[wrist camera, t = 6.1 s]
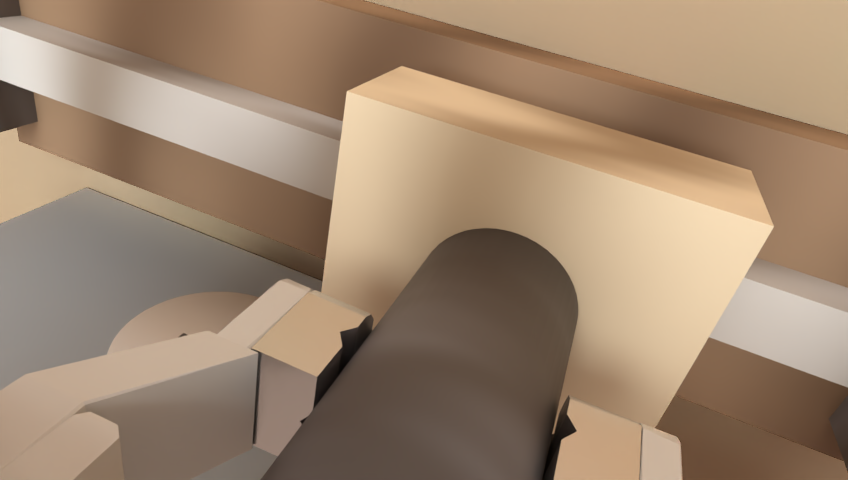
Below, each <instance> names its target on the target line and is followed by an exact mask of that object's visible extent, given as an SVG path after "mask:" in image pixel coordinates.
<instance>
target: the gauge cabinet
mask: <svg viewBox="0 0 848 480" xmlns="http://www.w3.org/2000/svg"><path fill="white" fill-rule="evenodd" d="M287 278H288V279H290V280H292V281H294V282H297V283H299V284H301V285H304V286H306V287H308V288H311V289H313V290H317V291H319V292H321V289H322V281H321V280H318V279H315V278H313V277H310V276H308V275H305V274H303V273H300V272H298V271H295V270H293V269H290V268H288V267H285V266H283V265H280V264H278V263H275V262H273V261H270V260H268V259H265V258H263V257H260V256H258V255H255V254H253V253H250V252H248V251H245V250H243V249H240V248H238V247H235V246H232V245H230V244H227V243H225V242H222V241H220V240H217V239H215V238H212V237H210V236H207V235H205V234H202V233H200V232H197V231H195V230H192V229H190V228H187V227H185V226H182V225H180V224H177V223H175V222H172V221H170V220H167V219H165V218H162V217H160V216H157V215H154V214H152V213H149V212H147V211H144V210H142V209H139V208H137V207H134V206H132V205H129V204H127V203H124V202H122V201H119V200H117V199H114V198H112V197H109V196H107V195H104V194H102V193H99V192H97V191H94V190H92V189H89V188H84V189H82V190H80V191H77V192H75V193H72V194H70V195H68V196H65V197H63V198H60V199H58V200H56V201H53V202H51V203H49V204H46V205H44V206H41V207H39V208H37V209H34V210H32V211H29V212H27V213H25V214H22V215H20V216H18V217H15V218H13V219H10V220H8V221H6V222H3V223H1V224H0V391H1V390H2V389H4V388H5V387H7V386H8V385H10V384H11V383H13V382H14V381H16V380H17V379H19V378H20V377H22V376H23V375H25V374H28V373H32V372H37V371H41V370H45V369H49V368H53V367H57V366H62V365H66V364H70V363H74V362H78V361H83V360H87V359H91V358H95V357H99V356H103V355H108V354H112V353H116V352H120V351H124V350H128V349H133V348H137V347H141V346H145V345H149V344H153V343H158V342H162V341H166V340H170V339H174V338H178V337H183V336H187V335H191V334H195V333H199V332H204V331H210V332H213V333H215V334H217V333H218V332H219V331H221V330H222V329H223V328H224V327H225V326H226V325H228V324H229V323H230V322H231V321H232V320H233V319H235V318H236V317H237V316H238V315H239V314H240V313H242V312H243V311H244V310H245V309H246V308H247V307H248V306H250V305H251V304H252V303H253V302H254V301H255V300H257V299H258V298H259V297H260V296H261V295H262V294H264V293H265V292H266V291H267V290H268V289H269V288H271V287H272V286H273V285H274V284H275V283H276V282H278V281H280V280H283V279H287ZM277 457H278V456H276V455H273V454H271V453H269V452H267V451H264V450H262V449H260V448H258V447H256V446H252V449H251V450H249V451H247V452H245V453H243V454H241V455H239V456H237V457H235V458H233V459H231V460H229V461H227V462H225V463H223V464H221V465H218V466H216V467H214V468H212V469H210V470H208V471H206V472H204V473H202V474H200V475H198V476H196V477H194V478H192V479H190V480H261V478H262V477H263V476H264V474H265V473H266V472H267V470H268V469H269V468H270V466H271V465H272V464H273V462H274V461H275V460H276V458H277Z"/></svg>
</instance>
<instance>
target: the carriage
mask: <svg viewBox="0 0 848 480" xmlns="http://www.w3.org/2000/svg"><path fill="white" fill-rule="evenodd" d="M773 228H774V225H773V223H772V220H771V218H770V215H769V213H768V210H767V208H766V206H765V203H764V201H763V198H762V196H761V193H760V191H759V188H758V186H757V183H756V181H755V178H754V176H753V174H752V171H751V170H747V169H744V168H740V167H737V166H734V165H730V164H727V163H724V162H720V161H717V160H714V159H710V158H707V157H704V156H700V155H697V154H694V153H690V152H687V151H684V150H680V149H677V148H674V147H670V146H667V145H664V144H660V143H657V142H654V141H650V140H647V139H644V138H640V137H637V136H634V135H630V134H627V133H624V132H620V131H617V130H614V129H610V128H607V127H604V126H600V125H597V124H594V123H590V122H587V121H584V120H580V119H577V118H574V117H570V116H567V115H564V114H560V113H557V112H554V111H550V110H547V109H544V108H540V107H537V106H534V105H530V104H527V103H524V102H520V101H517V100H514V99H510V98H507V97H504V96H500V95H497V94H494V93H490V92H487V91H484V90H480V89H477V88H474V87H470V86H467V85H464V84H460V83H457V82H454V81H450V80H447V79H444V78H440V77H437V76H434V75H430V74H427V73H424V72H420V71H417V70H414V69H410V68H407V67H404V66H401V67H398V68H396V69H394V70H392V71H390V72H388V73H385V74H383V75H381V76H379V77H377V78H375V79H372V80H370V81H368V82H366V83H364V84H361V85H359V86H357V87H355V88H353V89H351V90H348V91H347V93H346V101H345V109H344V117H343V125H342V133H341V140H340V148H339V156H338V164H337V172H336V180H335V187H334V195H333V203H332V211H331V219H330V226H329V234H328V242H327V250H326V258H325V266H324V273H323V281H322V289H321V293H323V294H326V295H328V296H330V297H333V298H335V299H337V300H340V301H342V302H344V303H346V304H349V305H351V306H353V307H356V308H358V309H360V310H363V311H365V312H367V313H369V314H371V315H372V317H373V319H374V321H373V327H372V332H371V333H370V334H369V336H368V337H367V338H366V340H365V341H364V342H363V344H362V345H361V346H360V348H359V349H358V350H357V352H356V353H355V354H354V356H353V357H352V358H351V360H350V361H349V362H348V364H347V365H346V366H345V368H344V369H343V370H342V372H341V373H340V374H339V376H338V377H337V378H336V380H335V381H334V382H333V384H332V385H331V386H330V388H329V389H328V390H327V392H326V393H325V394H324V396H323V397H322V398H321V400H320V401H319V402H318V404H317V405H316V406H315V408H314V409H313V410H312V412H311V413H310V414H309V416H308V417H307V418H306V420H305V421H304V422H303V424H302V425H301V426H300V428H299V429H298V430H297V432H296V433H295V434H294V436H293V437H292V438H291V440H290V441H289V442H288V444H287V445H286V446H285V448H284V449H283V450H282V452H281V453H280V454H279V456H278V457H277V458H276V460H275V461H274V462H273V464H272V465H271V466H270V468H269V469H268V470H267V472H266V473H265V474H264V476H263V477H262V478H261V480H542V478H543V473H544V469H545V464H546V460H547V455H548V451H549V446H550V442H551V437H552V434H554V432H555V428H556V424H557V420H558V415H559V413H560V410H561V408H562V406H563V404H564V402H565V400H566V399H567V397H568V395H570V396H573V397H575V398H578V399H580V400H583V401H585V402H588V403H590V404H593V405H595V406H598V407H600V408H603V409H605V410H608V411H610V412H613V413H615V414H618V415H620V416H623V417H625V418H628V419H630V420H633V421H635V422H637V423H643V424H645V425H648V426H650V427H653V428H656V426H657V424H658V423H659V421H660V419H661V417H662V416H663V414H664V412H665V411H666V409H667V407H668V406H669V404H670V402H671V400H672V399H673V397H674V395H675V394H676V392H677V390H678V389H679V387H680V385H681V384H682V382H683V380H684V378H685V377H686V375H687V373H688V372H689V370H690V368H691V367H692V365H693V363H694V361H695V360H696V358H697V356H698V355H699V353H700V351H701V350H702V348H703V346H704V345H705V343H706V341H707V339H708V338H709V336H710V334H711V333H712V331H713V329H714V328H715V326H716V324H717V322H718V321H719V319H720V317H721V316H722V314H723V312H724V311H725V309H726V307H727V306H728V304H729V302H730V300H731V299H732V297H733V295H734V294H735V292H736V290H737V289H738V287H739V285H740V283H741V282H742V280H743V278H744V277H745V275H746V273H747V272H748V270H749V268H750V267H751V265H752V263H753V261H754V260H755V258H756V256H757V255H758V253H759V251H760V250H761V248H762V246H763V244H764V243H765V241H766V239H767V238H768V236H769V234H770V233H771V231H772V229H773Z"/></svg>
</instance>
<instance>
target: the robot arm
mask: <svg viewBox="0 0 848 480" xmlns="http://www.w3.org/2000/svg"><path fill="white" fill-rule="evenodd" d="M373 321H374V319H373V317H372V315H371V314H369V313H367V312H365V311H363V310H360V309H358V308H356V307H353V306H351V305H349V304H346V303H344V302H342V301H340V300H337V299H335V298H333V297H330V296H328V295H326V294H323V293H321V292H319V291H317V290H313V289H311V288H308V287H306V286H304V285H301V284H299V283H297V282H294V281H292V280H290V279H288V278H287V279H283V280H280V281H278V282H276V283H275V284H274V285H273V286H272V287H271V288H269V289H268V290H267V291H266V292H265V293H264V294H262V295H261V296H260V297H259V298H258V299H257V300H255V301H254V302H253V303H252V304H251V305H250V306H248V307H247V308H246V309H245V310H244V311H243V312H242V313H240V314H239V315H238V316H237V317H236V318H235V319H233V320H232V321H231V322H230V323H229V324H228V325H226V326H225V327H224V328H223V329H222V330H221V331H219V332H218V333H217V334H215V333H213V332H210V331H204V332H199V333H195V334H191V335H187V336H183V337H178V338H174V339H170V340H166V341H162V342H158V343H153V344H149V345H145V346H141V347H137V348H133V349H128V350H124V351H120V352H116V353H112V354H108V355H103V356H99V357H95V358H91V359H87V360H83V361H78V362H74V363H70V364H66V365H62V366H57V367H53V368H49V369H45V370H41V371H37V372H32V373H28V374H25V375H23V376H22V377H20V378H19V379H17V380H16V381H14V382H13V383H11V384H10V385H8V386H7V387H5V388H4V389H2V390H1V391H0V480H190V479H192V478H194V477H196V476H198V475H200V474H202V473H204V472H206V471H208V470H210V469H212V468H214V467H216V466H218V465H221V464H223V463H225V462H227V461H229V460H231V459H233V458H235V457H237V456H239V455H241V454H243V453H245V452H247V451H249V450H251V449H252V446H256V447H258V448H260V449H262V450H264V451H267V452H269V453H271V454H273V455H276V456H279V454H280V453H281V452H282V450H283V449H284V448H285V446H286V445H287V444H288V442H289V441H290V440H291V438H292V437H293V436H294V434H295V433H296V432H297V430H298V429H299V428H300V426H301V425H302V424H303V422H304V421H305V420H306V418H307V417H308V416H309V414H310V413H311V412H312V410H313V409H314V408H315V406H316V405H317V404H318V402H319V401H320V400H321V398H322V397H323V396H324V394H325V393H326V392H327V390H328V389H329V388H330V386H331V385H332V384H333V382H334V381H335V380H336V378H337V377H338V376H339V374H340V373H341V372H342V370H343V369H344V368H345V366H346V365H347V364H348V362H349V361H350V360H351V358H352V357H353V356H354V354H355V353H356V352H357V350H358V349H359V348H360V346H361V345H362V344H363V342H364V341H365V340H366V338H367V337H368V336H369V334H370V333H371V332H372V327H373ZM542 480H682V457H681V443H680V441H679V439H678V437H676V436H674V435H671V434H668V433H666V432H663V431H661V430H658V429H655V428H653V427H650V426H648V425H645V424H643V423H637V422H635V421H633V420H630V419H628V418H625V417H623V416H620V415H618V414H615V413H613V412H610V411H608V410H605V409H603V408H600V407H598V406H595V405H593V404H590V403H588V402H585V401H583V400H580V399H578V398H575V397H573V396H570V395H568V397H567V399H566V400H565V402H564V404H563V406H562V408H561V410H560V413H559V415H558V420H557V424H556V428H555V432H554V434H552V437H551V442H550V446H549V451H548V455H547V460H546V464H545V469H544V473H543V478H542Z"/></svg>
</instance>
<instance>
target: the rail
mask: <svg viewBox="0 0 848 480" xmlns="http://www.w3.org/2000/svg"><path fill="white" fill-rule="evenodd" d="M401 66H404V67H407V68H410V69H414V70H417V71H420V72H424V73H427V74H430V75H434V76H437V77H440V78H444V79H447V80H450V81H454V82H457V83H460V84H464V85H467V86H470V87H474V88H477V89H480V90H484V91H487V92H490V93H494V94H497V95H500V96H504V97H507V98H510V99H514V100H517V101H520V102H524V103H527V104H530V105H534V106H537V107H540V108H544V109H547V110H550V111H554V112H557V113H560V114H564V115H567V116H570V117H574V118H577V119H580V120H584V121H587V122H590V123H594V124H597V125H600V126H604V127H607V128H610V129H614V130H617V131H620V132H624V133H627V134H630V135H634V136H637V137H640V138H644V139H647V140H650V141H654V142H657V143H660V144H664V145H667V146H670V147H674V148H677V149H680V150H684V151H687V152H690V153H694V154H697V155H700V156H704V157H707V158H710V159H714V160H717V161H720V162H724V163H727V164H730V165H734V166H737V167H740V168H744V169H747V170H751V171H752V174H753V176H754V178H755V181H756V183H757V186H758V188H759V191H760V193H761V196H762V198H763V201H764V203H765V206H766V208H767V210H768V213H769V215H770V218H771V220H772V223H773V225H774V228H773V229H772V231H771V233H770V234H769V236H768V238H767V239H766V241H765V243H764V244H763V246H762V248H761V250H760V251H759V253H758V255H757V256H756V258H755V260H754V261H753V263H752V265H751V267H750V268H749V270H748V272H747V273H746V275H745V277H744V278H743V280H742V282H741V283H740V285H739V287H738V289H737V290H736V292H735V294H734V295H733V297H732V299H731V300H730V302H729V304H728V306H727V307H726V309H725V311H724V312H723V314H722V316H721V317H720V319H719V321H718V322H717V324H716V326H715V328H714V329H713V331H712V333H711V334H710V336H709V338H708V339H707V341H706V343H705V345H704V346H703V348H702V350H701V351H700V353H699V355H698V356H697V358H696V360H695V361H694V363H693V365H692V367H691V368H690V370H689V372H688V373H687V375H686V377H685V378H684V380H683V382H682V384H681V385H680V387H679V389H678V390H677V392H676V394H675V396H677V397H680V398H683V399H685V400H688V401H690V402H693V403H695V404H698V405H701V406H703V407H706V408H708V409H711V410H713V411H716V412H719V413H721V414H724V415H726V416H729V417H731V418H734V419H737V420H739V421H742V422H744V423H747V424H749V425H752V426H755V427H757V428H760V429H762V430H765V431H768V432H770V433H773V434H775V435H778V436H780V437H783V438H786V439H788V440H791V441H793V442H796V443H798V444H801V445H804V446H806V447H809V448H811V449H814V450H816V451H819V452H822V453H824V454H827V455H829V456H832V457H834V458H837V459H840V460H842V461H844V463H845V466H846V468H847V471H848V135H846V134H842V133H838V132H835V131H831V130H828V129H824V128H820V127H817V126H813V125H810V124H806V123H802V122H799V121H795V120H792V119H788V118H784V117H781V116H777V115H774V114H770V113H766V112H763V111H759V110H756V109H752V108H749V107H745V106H741V105H738V104H734V103H731V102H727V101H723V100H720V99H716V98H713V97H709V96H705V95H702V94H698V93H695V92H691V91H687V90H684V89H680V88H677V87H673V86H669V85H666V84H662V83H659V82H655V81H651V80H648V79H644V78H641V77H637V76H633V75H630V74H626V73H623V72H619V71H615V70H612V69H608V68H605V67H601V66H597V65H594V64H590V63H587V62H583V61H579V60H576V59H572V58H569V57H565V56H561V55H558V54H554V53H551V52H547V51H544V50H540V49H536V48H533V47H529V46H526V45H522V44H518V43H515V42H511V41H508V40H504V39H500V38H497V37H493V36H490V35H486V34H482V33H479V32H475V31H472V30H468V29H464V28H461V27H457V26H454V25H450V24H446V23H443V22H439V21H436V20H432V19H428V18H425V17H421V16H418V15H414V14H410V13H407V12H403V11H400V10H396V9H392V8H389V7H385V6H382V5H378V4H374V3H371V2H367V1H364V0H0V132H3V131H6V130H10V129H13V128H17V131H18V137H19V141H21V142H23V143H26V144H28V145H31V146H34V147H36V148H39V149H41V150H44V151H46V152H49V153H52V154H54V155H57V156H59V157H62V158H64V159H67V160H70V161H72V162H75V163H77V164H80V165H82V166H85V167H88V168H90V169H93V170H95V171H98V172H100V173H103V174H106V175H108V176H111V177H113V178H116V179H119V180H121V181H124V182H126V183H129V184H131V185H134V186H137V187H139V188H142V189H144V190H147V191H149V192H152V193H155V194H157V195H160V196H162V197H165V198H167V199H170V200H173V201H175V202H178V203H180V204H183V205H185V206H188V207H191V208H193V209H196V210H198V211H201V212H203V213H206V214H209V215H211V216H214V217H216V218H219V219H222V220H224V221H227V222H229V223H232V224H234V225H237V226H240V227H242V228H245V229H247V230H250V231H252V232H255V233H258V234H260V235H263V236H265V237H268V238H270V239H273V240H276V241H278V242H281V243H283V244H286V245H288V246H291V247H294V248H296V249H299V250H301V251H304V252H307V253H309V254H312V255H314V256H317V257H319V258H322V259H325V258H326V250H327V242H328V234H329V226H330V219H331V211H332V203H333V195H334V187H335V180H336V172H337V164H338V156H339V148H340V140H341V133H342V125H343V117H344V109H345V101H346V93H347V91H348V90H351V89H353V88H355V87H357V86H359V85H361V84H364V83H366V82H368V81H370V80H372V79H375V78H377V77H379V76H381V75H383V74H385V73H388V72H390V71H392V70H394V69H396V68H398V67H401Z"/></svg>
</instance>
